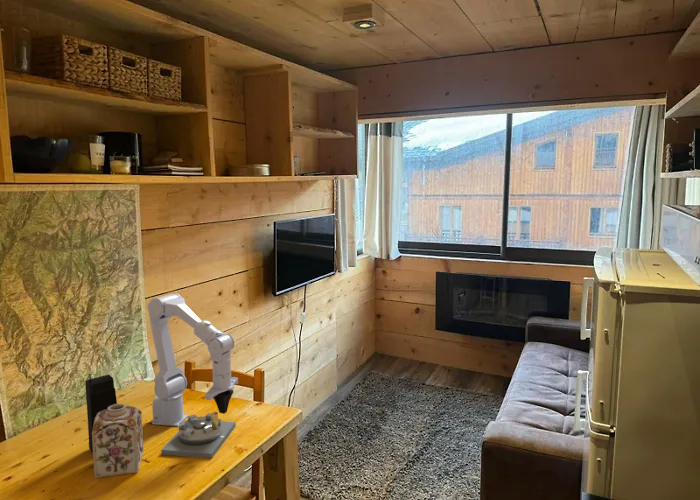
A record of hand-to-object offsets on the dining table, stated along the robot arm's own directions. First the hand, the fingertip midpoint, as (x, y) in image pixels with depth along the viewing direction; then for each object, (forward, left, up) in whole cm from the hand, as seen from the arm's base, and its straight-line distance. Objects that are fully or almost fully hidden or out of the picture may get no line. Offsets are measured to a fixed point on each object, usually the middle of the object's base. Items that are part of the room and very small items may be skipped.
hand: (222, 412), depth 163 cm
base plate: (-6, -4, -8) cm, 11 cm away
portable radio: (-33, -13, -8) cm, 36 cm away
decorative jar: (-23, -21, -8) cm, 32 cm away
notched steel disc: (-6, -4, -6) cm, 9 cm away
